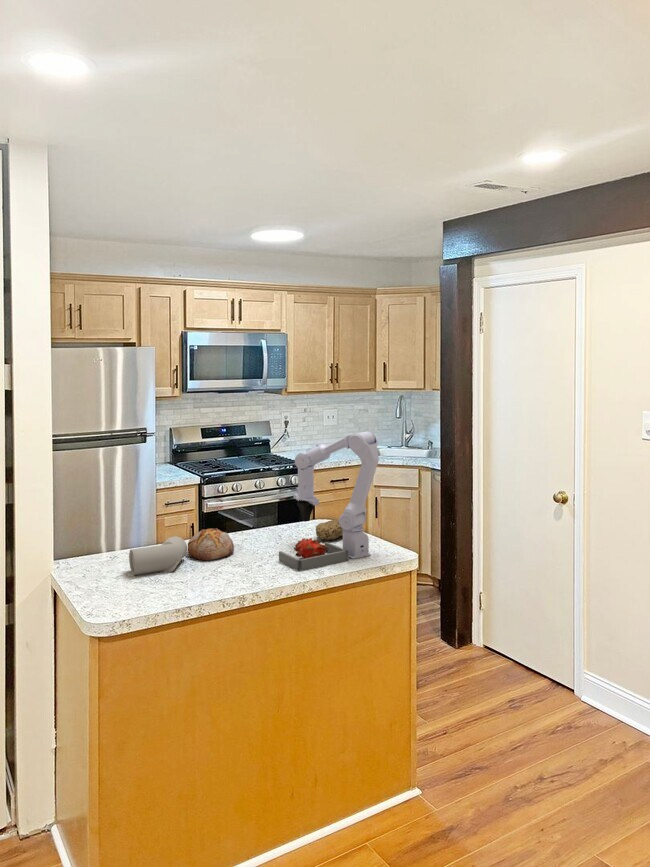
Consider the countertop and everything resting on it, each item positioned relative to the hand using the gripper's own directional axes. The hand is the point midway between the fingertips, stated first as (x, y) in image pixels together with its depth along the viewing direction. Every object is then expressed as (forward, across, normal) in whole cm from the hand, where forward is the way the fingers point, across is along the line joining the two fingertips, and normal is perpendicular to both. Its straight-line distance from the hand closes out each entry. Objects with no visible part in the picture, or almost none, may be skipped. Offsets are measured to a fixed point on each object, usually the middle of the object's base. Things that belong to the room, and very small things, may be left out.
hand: (306, 520), depth 259 cm
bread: (+10, -12, -33) cm, 37 cm away
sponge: (+10, -4, +16) cm, 19 cm away
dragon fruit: (+10, +16, -8) cm, 20 cm away
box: (+9, +17, -8) cm, 21 cm away
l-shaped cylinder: (+10, -7, -55) cm, 56 cm away
